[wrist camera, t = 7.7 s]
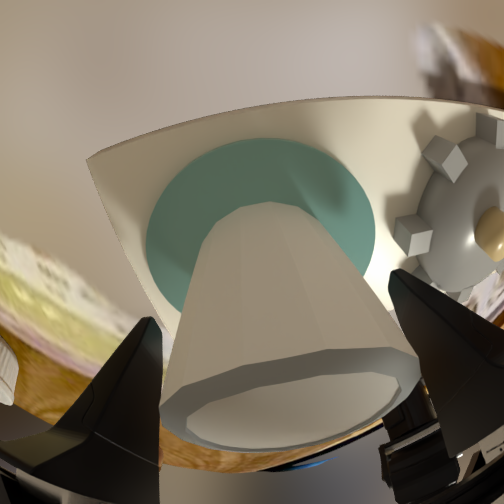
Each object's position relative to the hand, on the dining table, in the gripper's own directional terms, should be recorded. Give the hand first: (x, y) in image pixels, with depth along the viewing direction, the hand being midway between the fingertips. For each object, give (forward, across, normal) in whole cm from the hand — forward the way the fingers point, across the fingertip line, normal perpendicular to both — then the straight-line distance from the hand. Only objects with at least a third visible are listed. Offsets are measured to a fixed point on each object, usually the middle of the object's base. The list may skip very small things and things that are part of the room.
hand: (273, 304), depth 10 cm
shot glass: (+3, 0, 0) cm, 3 cm away
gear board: (+4, -6, 0) cm, 8 cm away
